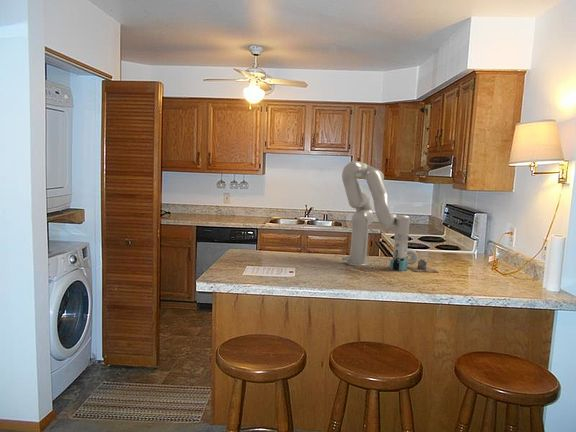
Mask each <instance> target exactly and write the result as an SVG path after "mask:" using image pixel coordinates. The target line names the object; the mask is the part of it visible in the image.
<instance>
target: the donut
mask: <svg viewBox="0 0 576 432" xmlns="http://www.w3.org/2000/svg"><path fill="white" fill-rule="evenodd" d="M408 255H410V256H411V258H409V259H408V258H407V257H405V260H407V261H408V262H407V265H414V264H416V263H417V262H418V259H419V258H418V254H417V251H416V250H414V249H413V248H408V249H407V256H408Z"/></svg>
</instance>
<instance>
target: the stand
mask: <svg viewBox="0 0 576 432" xmlns="http://www.w3.org/2000/svg"><path fill="white" fill-rule="evenodd" d="M399 261H401V260H399ZM388 269H389V270H391V271H395V272H399V271H398V270H393V269H390V267H388ZM407 271H408V269H407V270H404V271H403V272H407Z"/></svg>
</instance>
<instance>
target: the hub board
mask: <svg viewBox="0 0 576 432" xmlns="http://www.w3.org/2000/svg"><path fill="white" fill-rule="evenodd" d="M407 270H409V271H412V272H414V273H427V274H428V273H434V274H435V273H437V274H439V271H438V270H436V269H433V268H432V267H429V266H427V261H426V260H425V259H424V258H419V259H417V266H410V265H409V266H408V265H407Z"/></svg>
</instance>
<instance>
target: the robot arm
mask: <svg viewBox="0 0 576 432" xmlns="http://www.w3.org/2000/svg"><path fill="white" fill-rule="evenodd" d="M357 177H359V178H362V179H364V180H365V181H366V183H367V187H368V189H369V191H370V194H371V197H372V199H373V200H372V201H373V207H374V211H375V214H376V218H377V220H378V222H379V224H380V226H381V227H383V228H390V227H394V235H393V236H394V237H393V240H394V245H393V250H392V251H393V252H392V259H393V269H394V270H393V271H395V270H399V259H401V260H405V257H406V258H407V256H408V255H407V249H409V248H408V247H409V246H408V245H409V243H408V241H409V235H410V224H411V217H410V216H409V215H406V214H405V215H404V214H395V213H392V212H390V209H389V205H388V197H389V196H388V191H387V189H386V186H385V183H384V179H385V175H384V173H383V171H381V170H379V169H377V168H375V167H373V166H371V165H370V164H367V163H365V162H363V161H362V162H361V161H358V160H353V161H350V162H348V163H347V164H346V165H345V166H344V167H343V170H342V173H341V178H342V179H341V180H342V183H343V186H344V190H345V194H346V197H347V201H348V204H349V205H348V206H350V207H351V208H352V209H355V212H354V213H353V215H352V218H351V235H350V236H351V239H350V240H351V241H350V251H349V255H348V256H341V260H342V261H345V262H346V264H347V265H349V266H353V267H357V266H367V265H369V264H370V263H369V262H367V255H368V244H369V225H371V224H372V223H373V222H374V220H375V219H374V217H375V216H374V212H373V209H372V205H371V202H370V199H369V197H368V195H367V194H366V193H365V192H363V191H362V190H361V187H360V183H359V181H358V179H357ZM397 259H398V260H397Z"/></svg>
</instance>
